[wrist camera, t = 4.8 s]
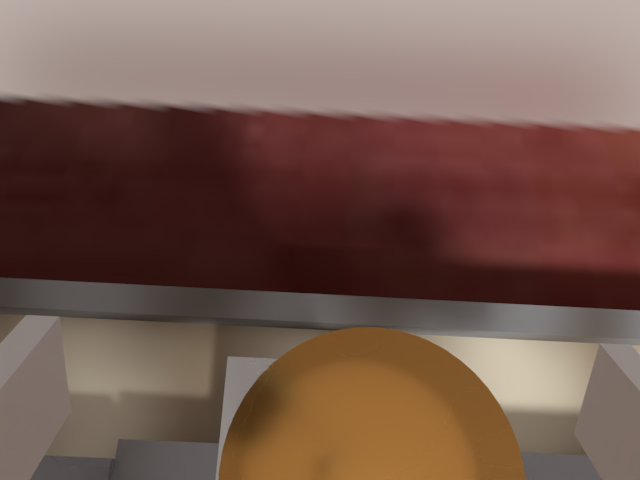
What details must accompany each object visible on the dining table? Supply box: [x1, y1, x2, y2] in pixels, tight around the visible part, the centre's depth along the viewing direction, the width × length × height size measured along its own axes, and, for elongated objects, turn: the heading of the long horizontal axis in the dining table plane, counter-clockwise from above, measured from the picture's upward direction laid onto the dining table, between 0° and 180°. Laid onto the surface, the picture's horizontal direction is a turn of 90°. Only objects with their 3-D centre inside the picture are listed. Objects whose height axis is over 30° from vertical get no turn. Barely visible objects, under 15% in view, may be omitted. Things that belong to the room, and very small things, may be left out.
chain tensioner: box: [30, 327, 602, 480], centre depth 12 cm, size 32×7×13 cm, turn 88°
